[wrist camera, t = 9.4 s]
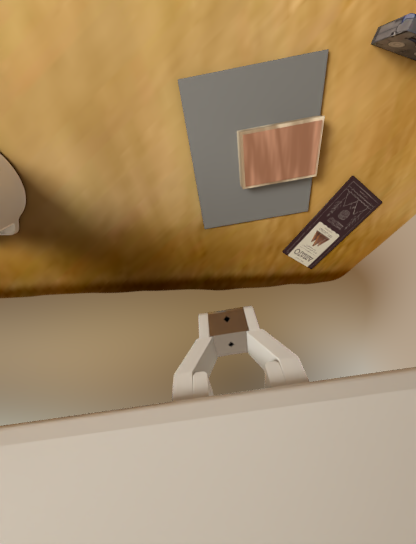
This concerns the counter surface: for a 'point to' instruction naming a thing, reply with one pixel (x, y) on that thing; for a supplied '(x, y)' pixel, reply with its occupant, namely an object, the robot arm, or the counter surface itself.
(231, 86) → the mat
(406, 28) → the mini dv tape
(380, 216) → the counter surface
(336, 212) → the chocolate bar
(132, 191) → the counter surface
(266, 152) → the wooden block
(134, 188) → the counter surface
